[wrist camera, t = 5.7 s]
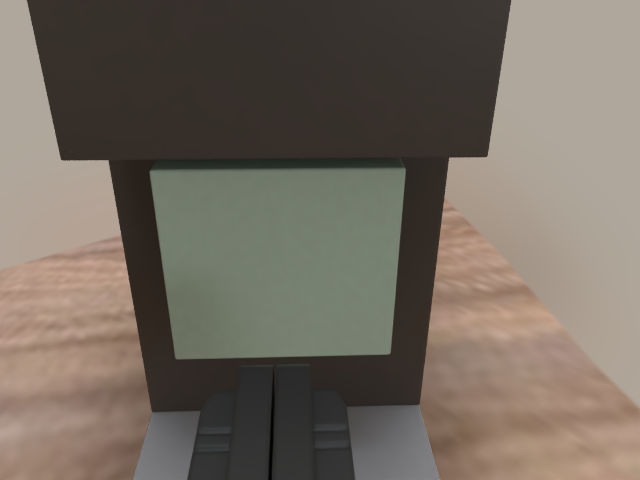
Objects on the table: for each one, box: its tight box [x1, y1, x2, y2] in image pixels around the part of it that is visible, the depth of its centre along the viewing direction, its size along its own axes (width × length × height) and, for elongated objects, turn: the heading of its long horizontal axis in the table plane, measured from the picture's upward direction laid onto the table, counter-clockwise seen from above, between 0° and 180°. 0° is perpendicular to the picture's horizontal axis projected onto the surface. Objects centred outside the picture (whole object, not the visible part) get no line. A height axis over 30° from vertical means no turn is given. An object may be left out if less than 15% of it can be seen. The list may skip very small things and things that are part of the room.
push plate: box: [150, 158, 406, 359], centre depth 18 cm, size 2×7×6 cm, turn 93°
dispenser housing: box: [27, 0, 511, 480], centre depth 21 cm, size 12×11×17 cm
